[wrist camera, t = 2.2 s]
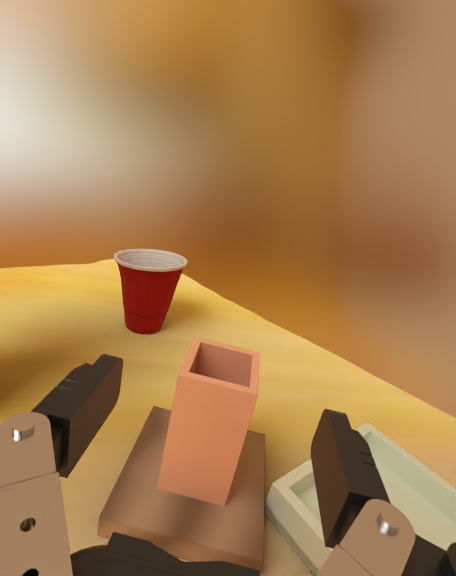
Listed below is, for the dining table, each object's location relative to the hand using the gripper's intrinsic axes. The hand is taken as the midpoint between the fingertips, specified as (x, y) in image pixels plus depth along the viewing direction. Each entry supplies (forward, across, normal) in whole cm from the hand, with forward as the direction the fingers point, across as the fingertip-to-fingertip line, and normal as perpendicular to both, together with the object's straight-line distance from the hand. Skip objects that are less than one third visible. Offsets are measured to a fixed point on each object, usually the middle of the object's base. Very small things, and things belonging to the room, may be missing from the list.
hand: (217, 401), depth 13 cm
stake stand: (+12, 0, +18) cm, 22 cm away
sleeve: (+12, 0, +16) cm, 20 cm away
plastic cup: (+37, +14, +18) cm, 44 cm away
